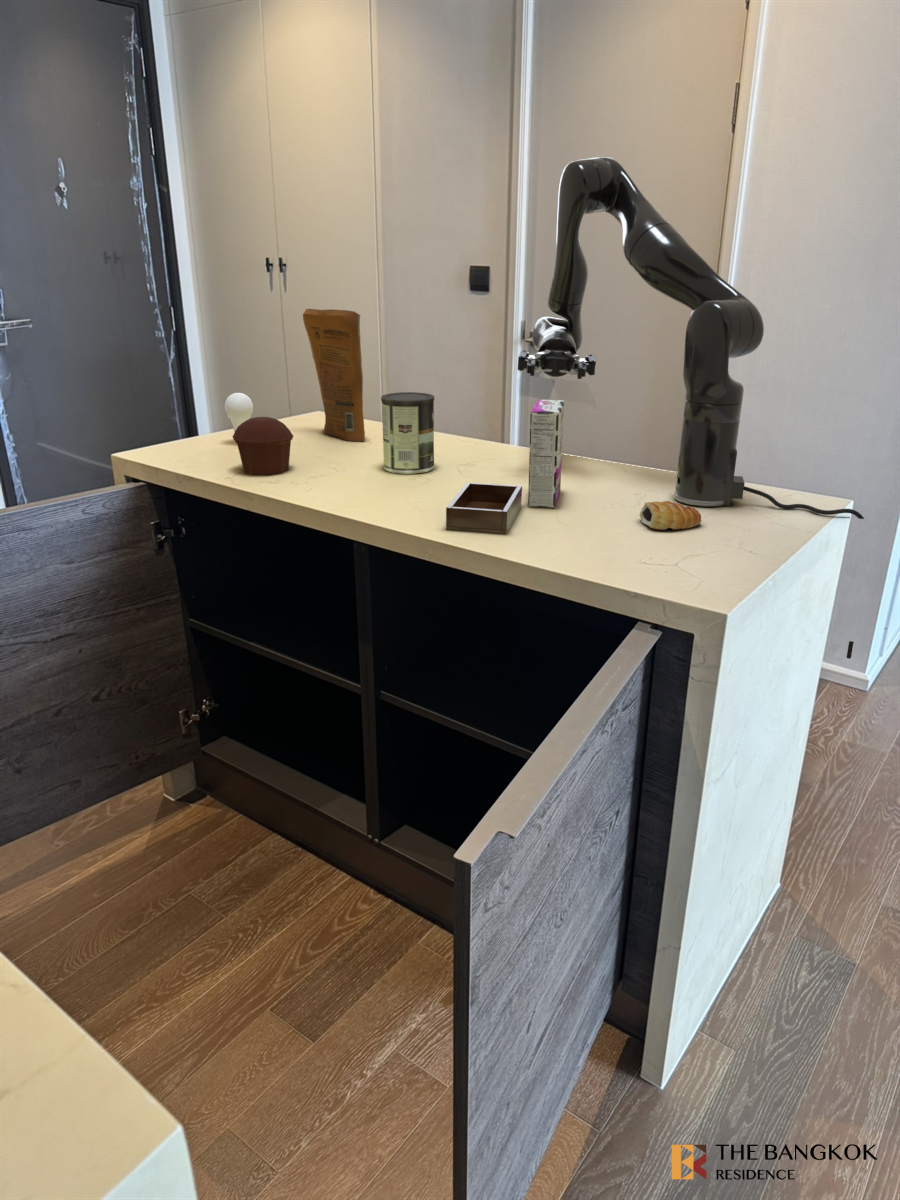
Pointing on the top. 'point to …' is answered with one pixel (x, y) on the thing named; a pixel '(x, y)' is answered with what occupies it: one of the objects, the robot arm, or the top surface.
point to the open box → (484, 508)
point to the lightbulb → (238, 408)
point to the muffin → (263, 445)
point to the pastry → (669, 515)
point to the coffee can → (408, 432)
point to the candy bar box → (545, 453)
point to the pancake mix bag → (338, 369)
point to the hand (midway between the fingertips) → (556, 371)
